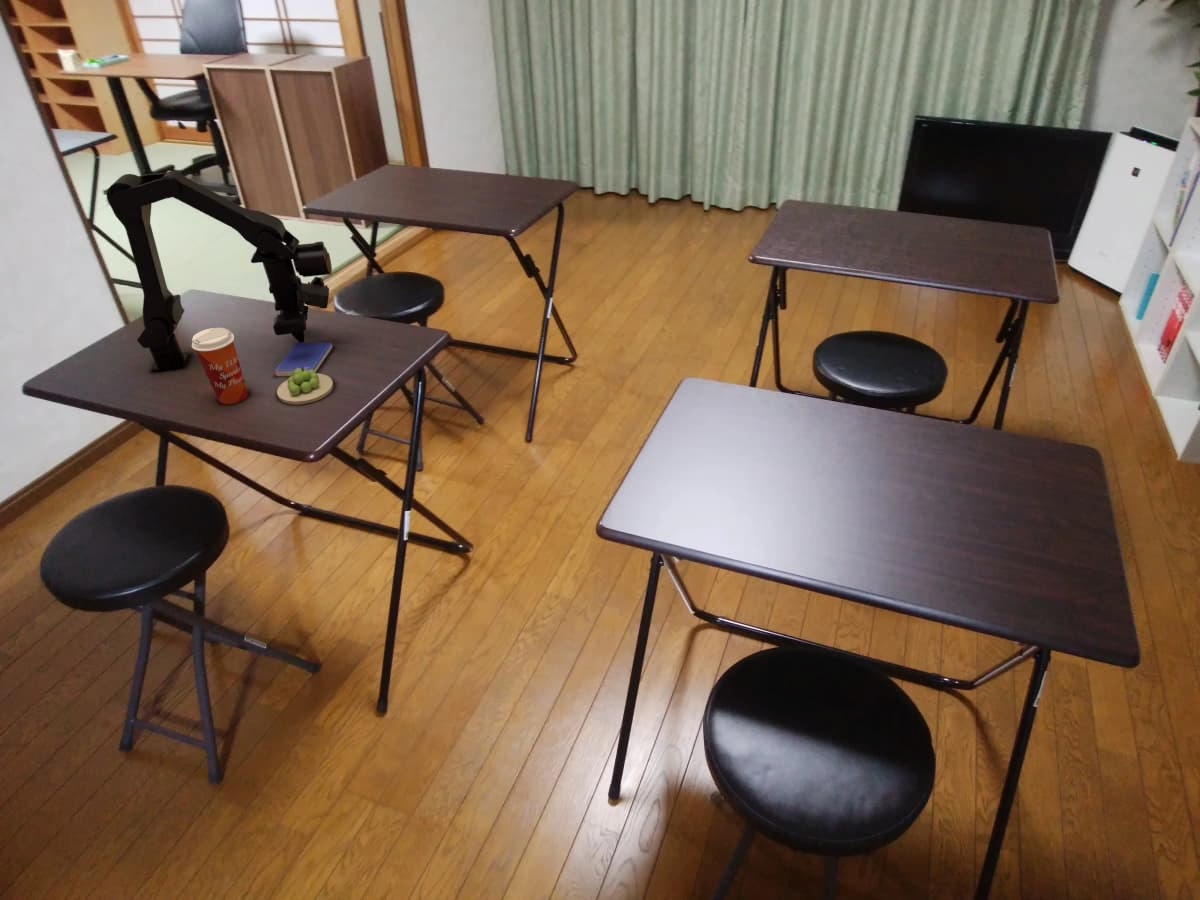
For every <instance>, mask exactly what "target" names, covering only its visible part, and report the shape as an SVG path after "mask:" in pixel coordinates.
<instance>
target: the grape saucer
mask: <svg viewBox="0 0 1200 900" xmlns="http://www.w3.org/2000/svg"><path fill="white" fill-rule="evenodd" d="M316 374H317V375H318V377H319V380H318V381H319V386H318V387H317V388H311V390H310V391H309V392H303V391H302V390H301V391H300V393H299V394H298V395H292V394H291V393H290V392H289V389H288V382H287V381H288V379H287V380H285V381H283V382H282V383H281V384H280V385H279V386H278V387H277V390H276V395H277V398H278V399H279V401H281V402H282V403H284V404H288V405H297V406H298V405H306V404H310V403H314V402H317V401H319V400H322V399H324V398H326V397H327V396H328V395H329V394H330V393H331V392H332V391H333V389H334V382H333V379H332V378H331V377H330V376H329V375H326V374H324V373H317V372H316ZM299 387H300V386H299Z"/></svg>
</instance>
